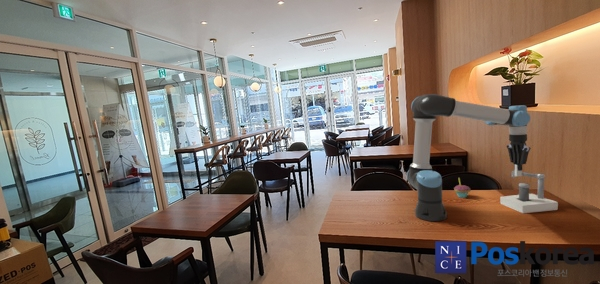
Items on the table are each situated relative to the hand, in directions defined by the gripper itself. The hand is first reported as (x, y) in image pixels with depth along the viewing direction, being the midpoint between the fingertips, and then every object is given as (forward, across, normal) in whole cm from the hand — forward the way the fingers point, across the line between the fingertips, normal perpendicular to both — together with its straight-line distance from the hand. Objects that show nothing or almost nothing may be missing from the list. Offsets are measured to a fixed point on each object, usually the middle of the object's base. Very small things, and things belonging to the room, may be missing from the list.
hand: (518, 175), depth 141 cm
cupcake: (+15, +16, +22) cm, 31 cm away
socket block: (+15, -7, +1) cm, 17 cm away
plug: (+15, -7, +3) cm, 17 cm away
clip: (+2, -2, -4) cm, 4 cm away
